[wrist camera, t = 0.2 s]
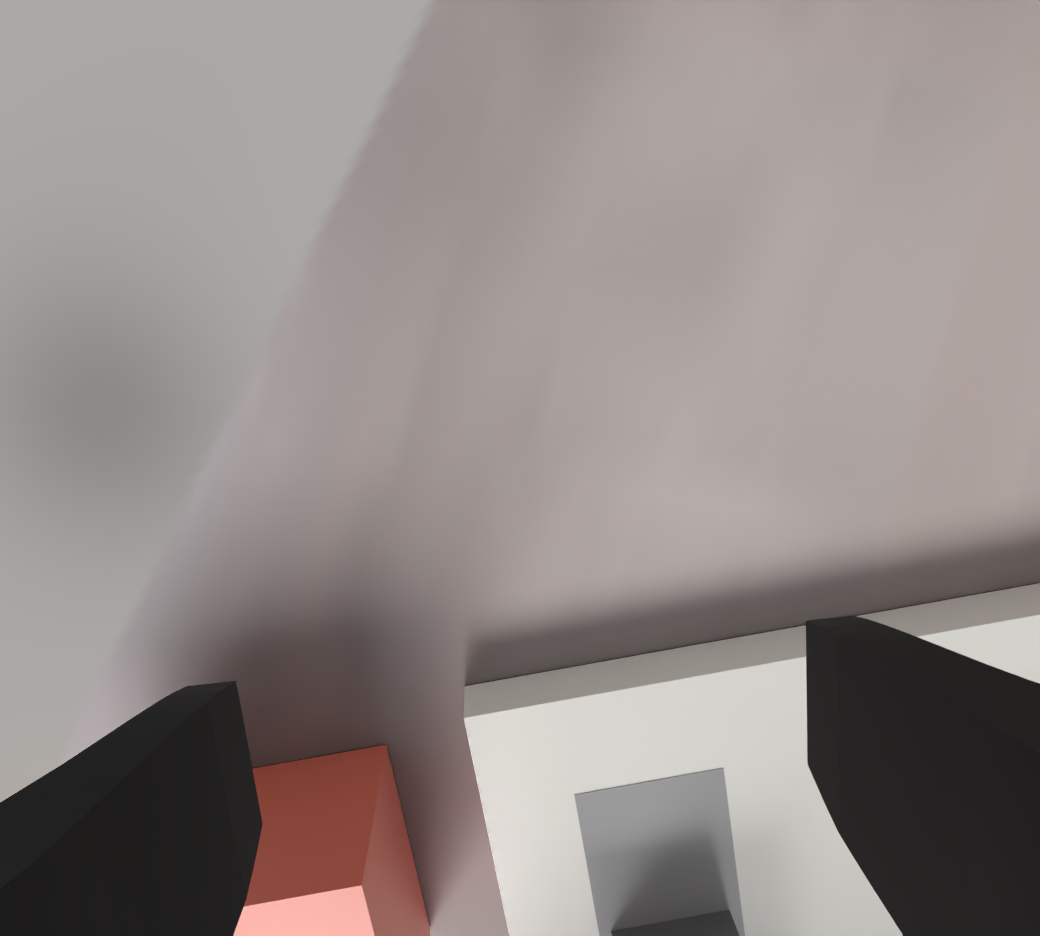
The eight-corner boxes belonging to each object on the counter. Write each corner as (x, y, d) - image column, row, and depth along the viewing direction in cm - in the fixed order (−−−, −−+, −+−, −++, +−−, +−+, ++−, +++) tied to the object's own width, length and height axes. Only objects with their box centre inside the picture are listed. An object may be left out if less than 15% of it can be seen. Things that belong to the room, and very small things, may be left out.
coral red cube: (430, 928, 24) (418, 1106, 19) (222, 965, 24) (157, 1153, 19) (386, 744, 22) (361, 885, 17) (165, 783, 22) (79, 936, 17)
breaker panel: (1237, 1024, 26) (1393, 1184, 21) (560, 1147, 26) (577, 1332, 21) (1260, 543, 22) (1454, 618, 18) (464, 686, 22) (461, 797, 18)
